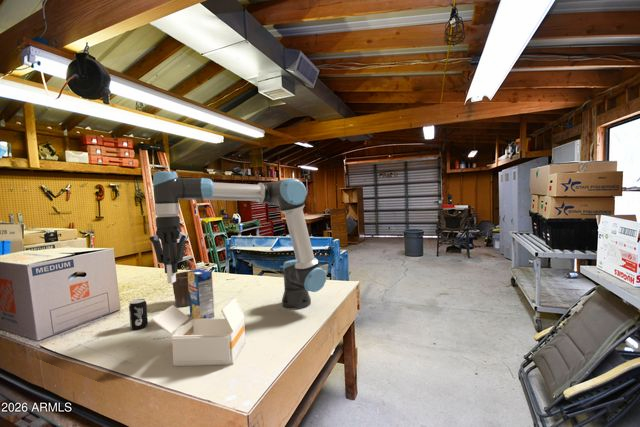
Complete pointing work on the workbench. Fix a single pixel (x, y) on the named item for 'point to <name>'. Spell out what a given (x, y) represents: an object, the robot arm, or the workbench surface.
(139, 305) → the beverage can
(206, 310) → the beverage box
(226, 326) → the carton
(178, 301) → the plant pot
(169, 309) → the end flap
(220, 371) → the workbench surface
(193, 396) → the workbench surface
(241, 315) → the end flap
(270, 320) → the workbench surface
